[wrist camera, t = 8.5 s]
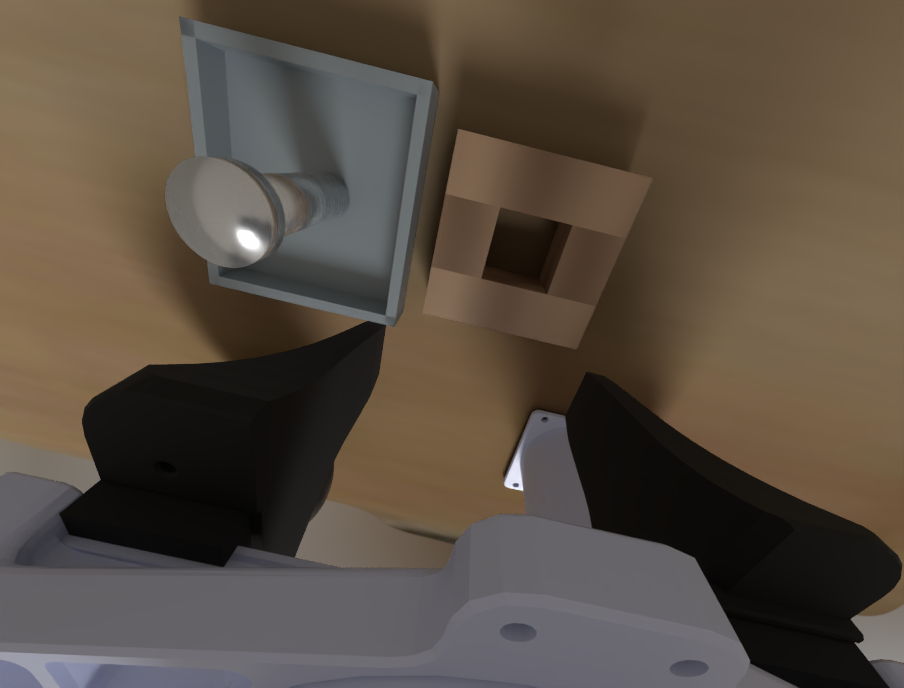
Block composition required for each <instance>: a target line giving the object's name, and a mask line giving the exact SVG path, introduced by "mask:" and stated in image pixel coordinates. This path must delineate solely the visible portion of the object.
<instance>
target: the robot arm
mask: <svg viewBox="0 0 904 688" xmlns="http://www.w3.org/2000/svg"><path fill="white" fill-rule="evenodd" d="M385 329H386V325H384V324H380V323H376V322H371V321H367V322H364V323H362V324H360V325H357V326H355V327H353V328H351V329H348V330H346V331H344V332H341V333H339V334H337V335H335V336H332V337H329V338H327V339H324V340H321V341H319V342H316V343H313V344H310V345H307V346H304V347H301V348H298V349H294V350H290V351H286V352H282V353H278V354H273V355H267V356H261V357H256V358H250V359H244V360H235V361H227V362H215V363H201V364H168V365H148V366H146V367H144V368H143V369H141V370H139V371H138V372H136V373H134V374H132V375H131V376H129V377H127V378H126V379H124V380H122V381H121V382H119V383H117V384H116V385H114V386H112V387H110V388H109V389H107V390H105V391H104V392H102V393H100V394H99V395H97V396H95V397H94V398H92V399H91V401H90V402H89V403H88V404H87V405H86V407H85V409H84V414H83V418H82V425H83V430H84V435H85V438H86V441H87V444H88V446H89V449H90V452H91V455H92V457H93V460H94V463H95V465H96V468H97V471H98V473H99V476H100V479H101V480H100V481H99V482H97V483H96V484H95V485H94V486H93V487H91V488H90V489H89V490H88V491H86V492H85V493H84V494H83V493H82V492H81V491H80V490H78V489H77V488H75V487H74V486H72V485H69V484H67V483H64V482H59V481H54V480H49V479H45V478H40V477H36V476H31V475H26V474H22V473H17V472H7V473H5V474H4V475H2V476H0V688H904V663H901V662H897V661H892V660H883V659H880V660H872V661H868V660H867V658H866V657H865V656H864V654H863V653H862V652H861V651H860V649H859V648H858V647H857V646H856V644H855V643H854V642H857V643H860V642H862V641H863V640H864V638H863V634H862V633H861V632H860V631H859V629H858V628H857V627H856V626H855V625H854V623H853V622H852V621H851V618H852V617H854V616H855V615H857V614H858V613H860V612H861V611H863V610H864V609H866V608H867V607H869V606H870V605H872V604H873V603H875V602H876V601H878V600H879V599H881V598H882V597H884V596H885V595H886V594H887V593H889V592H890V591H891V590H892V589H893V588H894V587H895V586H896V584H897V583H898V581H899V580H900V578H901V571H902V563H901V561H900V559H899V557H898V555H897V554H896V553H895V552H894V551H893V550H892V549H890V548H889V547H888V546H887V545H886V544H885V543H884V542H883V541H882V540H881V539H880V538H879V537H878V536H877V535H875V534H874V533H873V532H871V531H870V530H868V529H867V528H865V527H863V526H861V525H859V524H856V523H854V522H852V521H849V520H847V519H845V518H842V517H840V516H837V515H835V514H833V513H830V512H828V511H826V510H823V509H821V508H819V507H816V506H814V505H811V504H809V503H807V502H804V501H802V500H800V499H798V498H796V497H794V496H792V495H790V494H787V493H785V492H783V491H781V490H779V489H777V488H775V487H773V486H771V485H769V484H767V483H765V482H763V481H761V480H759V479H757V478H755V477H753V476H751V475H749V474H747V473H746V472H744V471H742V470H740V469H738V468H736V467H735V466H733V465H731V464H729V463H727V462H726V461H724V460H722V459H720V458H719V457H717V456H715V455H714V454H712V453H710V452H709V451H707V450H706V449H704V448H702V447H701V446H699V445H698V444H696V443H695V442H693V441H691V440H690V439H688V438H687V437H685V436H684V435H682V434H681V433H680V432H678V431H677V430H675V429H674V428H673V427H671V426H670V425H668V424H667V423H666V422H664V421H663V420H662V419H660V418H659V417H658V416H656V415H655V414H654V413H652V412H651V411H650V410H649V409H647V408H646V407H645V406H643V405H642V404H641V403H640V402H638V401H637V400H636V399H635V398H633V397H632V396H631V395H630V394H628V393H627V392H626V391H624V390H623V389H622V388H621V387H619V386H618V385H617V384H615V383H614V382H612V381H611V380H609V379H608V378H606V377H604V376H602V375H597V374H593V373H589V372H586V374H585V376H584V379H583V381H582V383H581V385H580V387H579V389H578V391H577V393H576V395H575V397H574V399H573V401H572V404H571V406H570V408H569V410H568V412H567V414H566V416H563V415H559V414H555V413H550V412H546V411H542V410H535V411H533V412H532V413H531V415H530V418H529V420H528V422H527V425H526V427H525V430H524V432H523V434H522V437H521V439H520V442H519V444H518V446H517V449H516V451H515V454H514V456H513V458H512V461H511V463H510V466H509V468H508V470H507V473H506V475H505V478H504V485H505V486H506V487H508V488H513V489H517V490H522V491H523V494H524V502H525V510H526V515H525V514H498V515H495V516H492V517H489V518H486V519H483V520H480V521H477V522H475V523H473V524H471V525H470V526H469V528H468V529H467V530H466V531H465V532H464V533H463V534H462V535H461V537H460V538H459V539H458V540H457V541H456V543H455V546H454V548H453V551H452V554H451V557H450V560H449V562H448V563H447V565H446V567H445V568H341V567H336V566H332V565H327V564H322V563H317V562H313V561H308V560H303V559H298V558H295V555H296V553H297V550H298V548H299V545H300V542H301V540H302V537H303V535H304V532H305V530H306V527H307V525H308V522H309V520H310V518H311V515H312V513H313V510H314V508H315V505H316V503H317V500H318V498H319V496H320V493H321V491H322V489H323V486H324V484H325V481H326V479H327V477H328V475H329V472H330V470H331V468H332V465H333V463H334V461H335V459H336V456H337V454H338V452H339V450H340V448H341V446H342V444H343V443H344V441H345V439H346V437H347V436H348V434H349V432H350V431H351V429H352V427H353V425H354V424H355V422H356V420H357V418H358V417H359V415H360V413H361V411H362V410H363V408H364V406H365V404H366V403H367V401H368V399H369V397H370V395H371V393H372V390H373V388H374V385H375V383H376V380H377V378H378V375H379V370H380V363H381V356H382V349H383V342H384V336H385ZM543 417H547V419H542V418H543Z"/></svg>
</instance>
